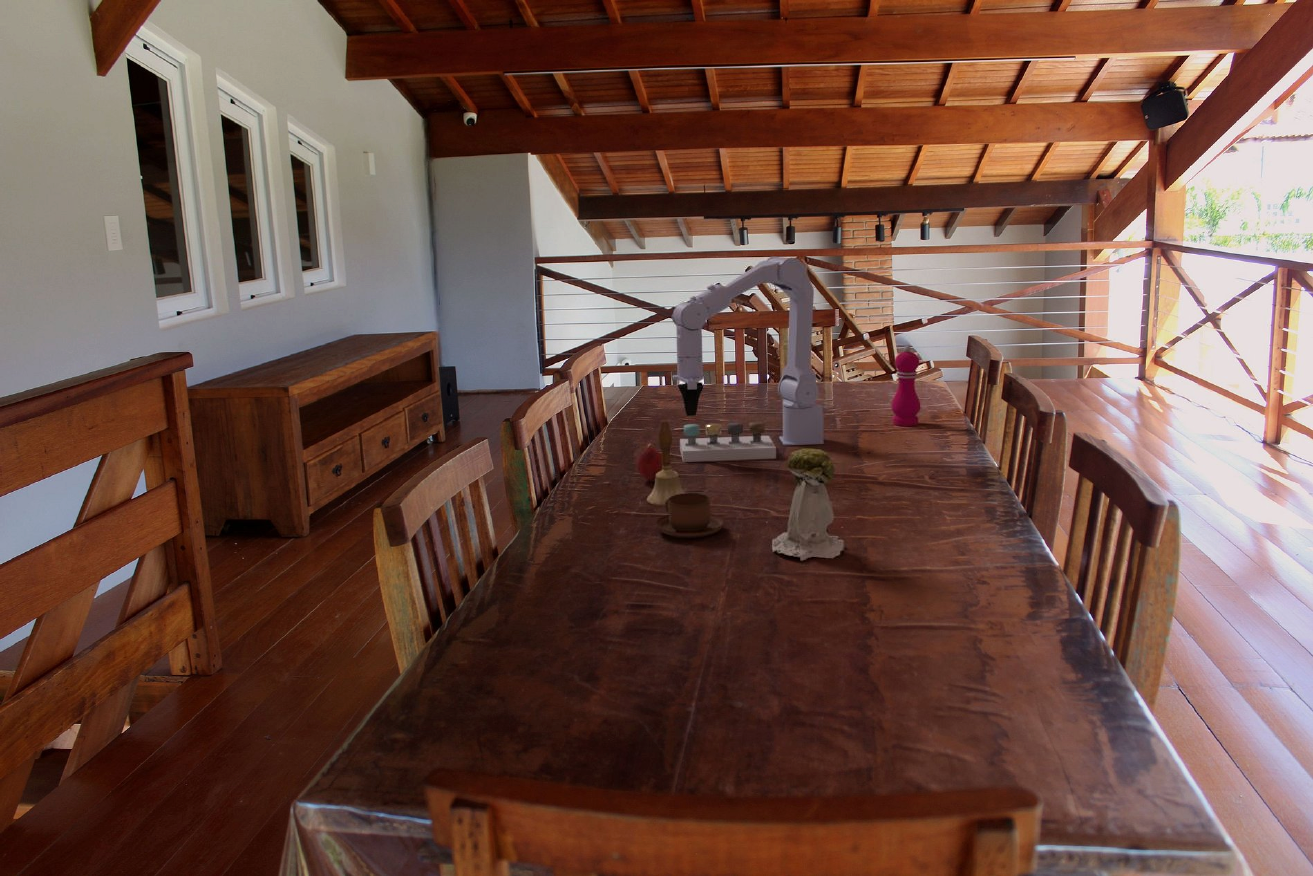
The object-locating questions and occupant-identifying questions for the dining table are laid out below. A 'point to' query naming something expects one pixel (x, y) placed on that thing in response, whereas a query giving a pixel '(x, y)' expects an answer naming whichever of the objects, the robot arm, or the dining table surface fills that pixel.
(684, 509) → the cup and saucer
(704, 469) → the dining table surface
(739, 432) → the dark grey rounded knob
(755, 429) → the walnut key
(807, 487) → the moss topped figurine
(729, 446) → the console
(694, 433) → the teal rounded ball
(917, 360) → the pepper mill
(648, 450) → the onion
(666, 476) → the hand bell
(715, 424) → the brass dome cap
